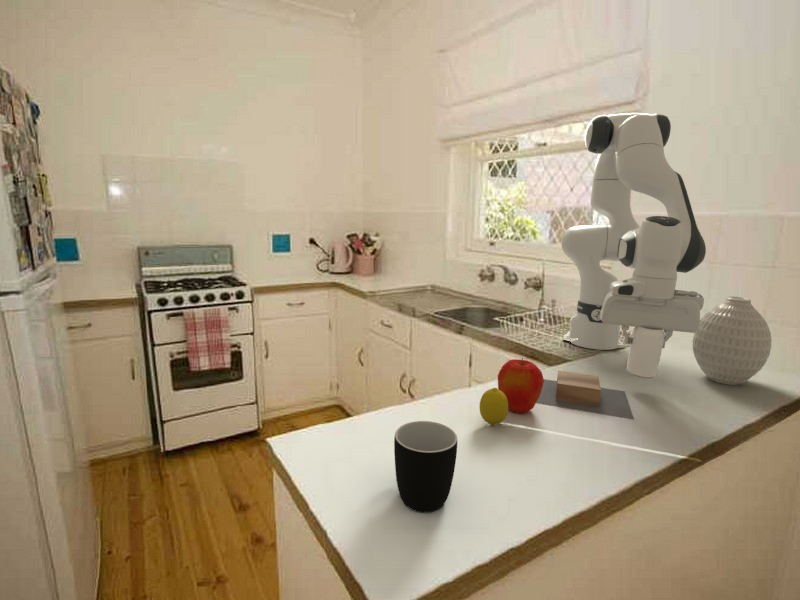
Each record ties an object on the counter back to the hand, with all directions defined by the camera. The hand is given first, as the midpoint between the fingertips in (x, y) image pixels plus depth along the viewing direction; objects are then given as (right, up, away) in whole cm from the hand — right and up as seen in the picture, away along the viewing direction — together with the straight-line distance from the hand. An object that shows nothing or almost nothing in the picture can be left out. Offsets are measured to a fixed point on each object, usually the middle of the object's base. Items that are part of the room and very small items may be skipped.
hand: (643, 345), depth 103 cm
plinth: (-17, -12, -2) cm, 20 cm away
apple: (-33, -13, -10) cm, 36 cm away
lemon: (-39, -15, -16) cm, 45 cm away
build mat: (-17, -12, -2) cm, 21 cm away
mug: (-55, -18, -38) cm, 70 cm away
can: (0, -7, +2) cm, 7 cm away
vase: (+28, -11, +12) cm, 32 cm away
